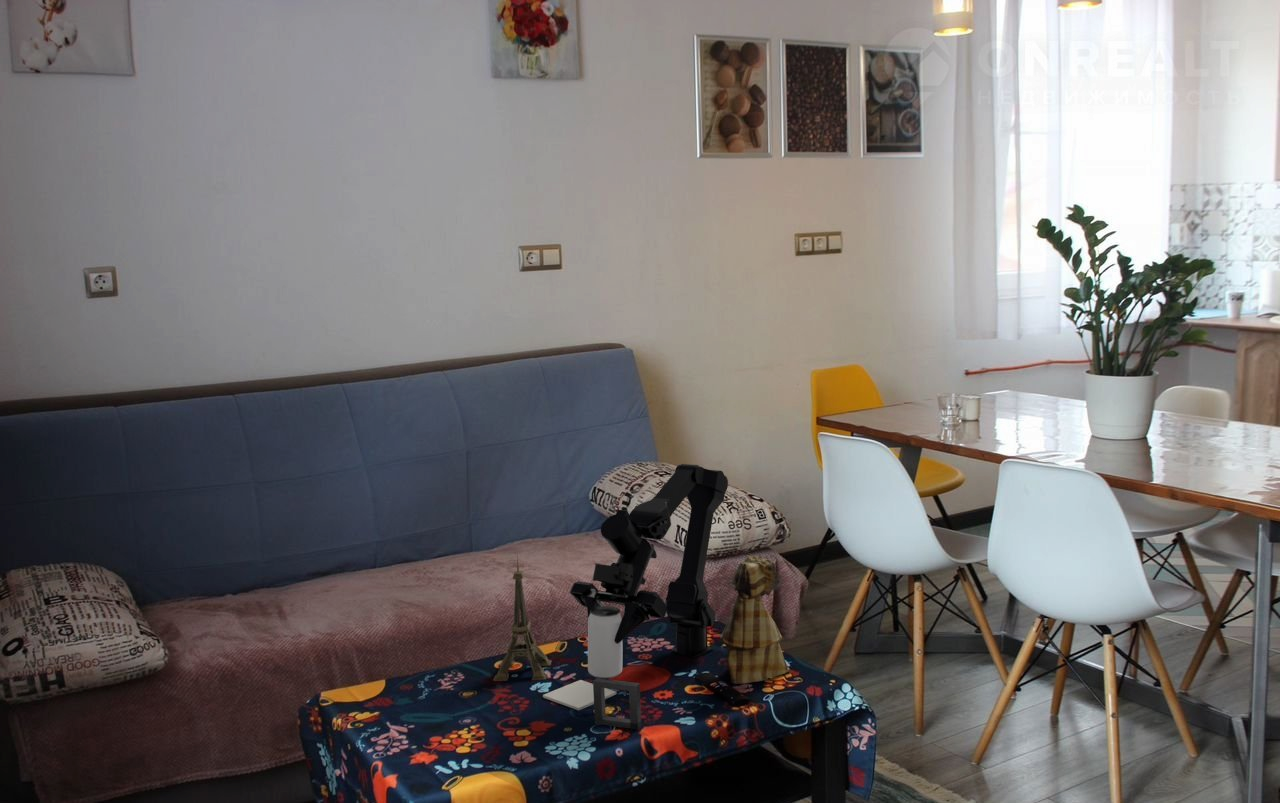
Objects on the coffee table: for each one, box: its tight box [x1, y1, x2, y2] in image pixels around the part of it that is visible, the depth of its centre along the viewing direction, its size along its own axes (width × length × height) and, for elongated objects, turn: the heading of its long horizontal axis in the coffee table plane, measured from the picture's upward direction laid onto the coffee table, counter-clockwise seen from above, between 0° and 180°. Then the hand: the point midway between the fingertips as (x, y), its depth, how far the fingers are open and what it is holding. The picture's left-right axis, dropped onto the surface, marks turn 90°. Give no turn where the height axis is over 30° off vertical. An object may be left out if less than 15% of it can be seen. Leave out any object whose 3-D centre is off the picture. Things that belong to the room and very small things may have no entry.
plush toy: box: [719, 555, 790, 685], centre depth 227 cm, size 14×14×25 cm
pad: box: [542, 679, 617, 711], centre depth 220 cm, size 10×10×1 cm
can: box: [587, 605, 623, 679], centre depth 214 cm, size 6×6×12 cm
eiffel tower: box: [492, 555, 553, 682], centre depth 233 cm, size 11×11×25 cm
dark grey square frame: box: [592, 677, 642, 730], centre depth 206 cm, size 2×8×8 cm, turn 68°
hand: (602, 640), depth 212 cm, fingers closed on can, 6 cm apart
